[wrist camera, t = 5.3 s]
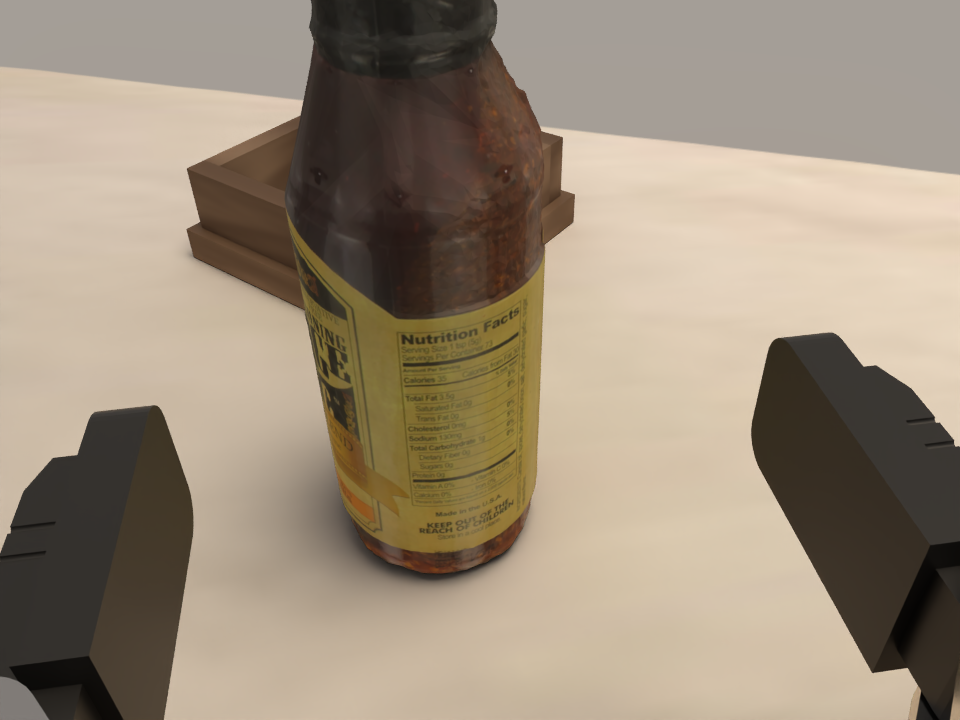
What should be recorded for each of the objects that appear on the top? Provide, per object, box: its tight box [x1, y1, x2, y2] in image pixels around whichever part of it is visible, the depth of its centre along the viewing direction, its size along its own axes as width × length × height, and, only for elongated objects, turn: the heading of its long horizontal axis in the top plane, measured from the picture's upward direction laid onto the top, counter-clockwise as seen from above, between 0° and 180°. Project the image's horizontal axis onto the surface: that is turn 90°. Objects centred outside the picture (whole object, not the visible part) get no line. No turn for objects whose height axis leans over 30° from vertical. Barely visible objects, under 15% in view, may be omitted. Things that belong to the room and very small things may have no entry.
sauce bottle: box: [284, 0, 545, 573], centre depth 22 cm, size 6×6×20 cm
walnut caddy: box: [187, 116, 575, 310], centre depth 40 cm, size 13×13×4 cm
